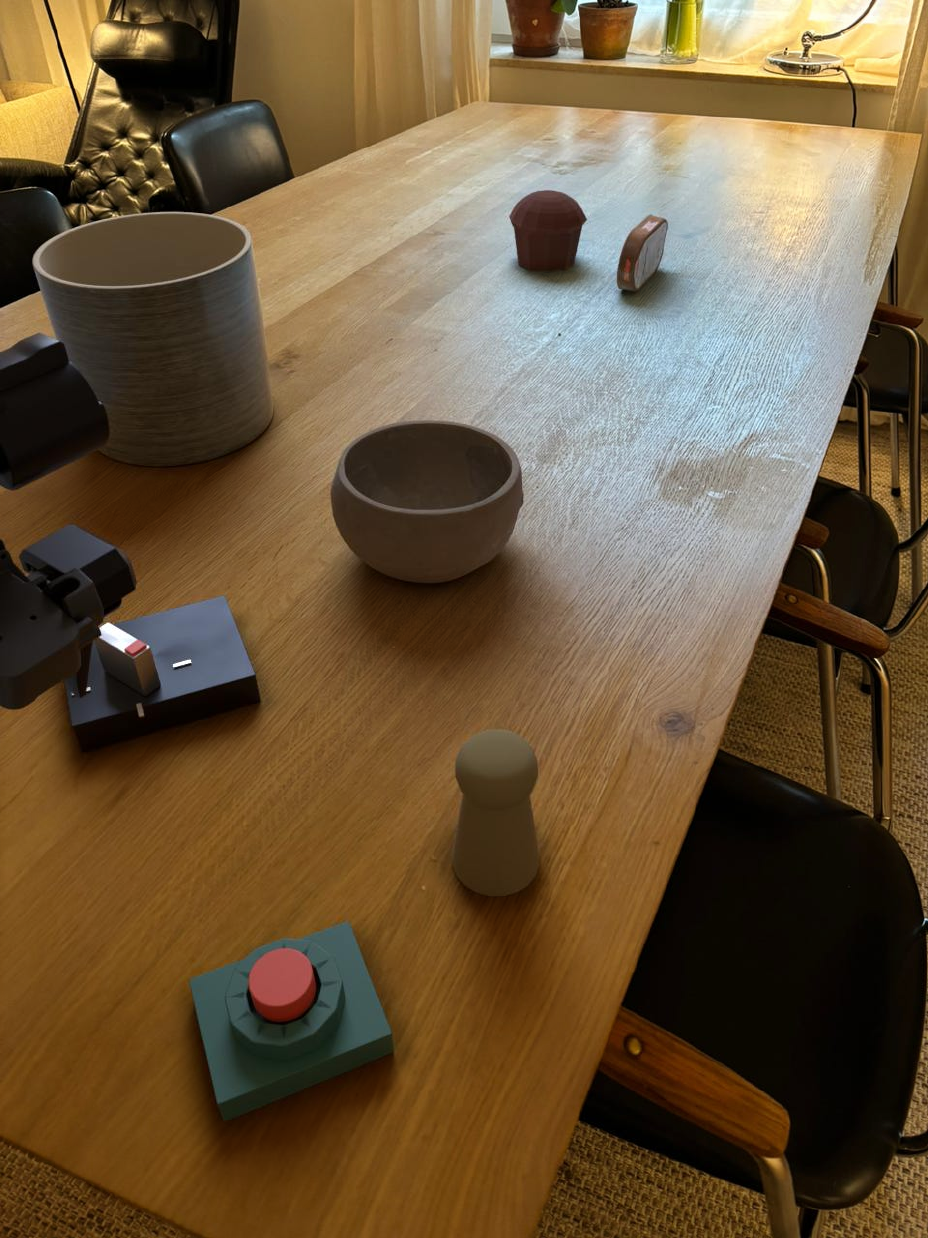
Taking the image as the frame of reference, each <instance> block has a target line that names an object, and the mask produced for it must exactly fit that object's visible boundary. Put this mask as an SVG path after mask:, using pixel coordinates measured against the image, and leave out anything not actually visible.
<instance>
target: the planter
mask: <svg viewBox="0 0 928 1238" xmlns="http://www.w3.org/2000/svg"><path fill="white" fill-rule="evenodd" d="M255 257H256V256H255V251H254V242H253V237H252V235H251V233H250V231H249V229H248V228H246V227H245V226H243V225H242V224H240V223H239V222H236V221H234V220H232V219H229V218H226V217H222V216H218V215H213V214H207V213H199V212H187V211H186V212H184V211H160V212H159V211H157V212H155V211H154V212H142V213H133V214H127V215H126V214H125V215H120V216H114V217H109V218H105V219H100V220H96V221H92V222H89V223H84V224H82V225H79V226H76V227H73V228H71V229H68V230H65V231H63V232H61V233H59V234H57V235H55V236H53V237H52V238H50V239H48V240H47V241H45V242H44V243H43V244H41V245H40V246H39V247H38V249H37V250H35V252H34V254H33V257H32V268H33V270H34V273H35V277H36V280H37V284H38V286H39V289H40V290H39V291H40V293H41V296H42V299H43V303H44V306H45V309H46V312H47V315H48V320H49V322H50V325H51V328H52V332H53V335H54V339H56V340H58V341H60V342H62V343H64V345H65V348H66V352H67V355H68V358H69V361H70V362H71V363H72V364H73V365H74V366H75V367H76V368H77V369H78V370H79V371H80V372H81V374H82V375H83V376H84V378H85V379H86V380H87V382H88V383H89V385H90V387H91V388H92V390H93V392H94V393H95V395H96V397H97V399H98V401H99V402H101V403H102V404H103V405H104V407H105V410H106V413H107V416H108V421H109V426H110V437H109V440H108V443H107V444H106V445H105V446H104V447H103V448H101V449H99V450H97V451H98V452H99V453H101V454H102V455H104V456H106V457H107V458H109V459H112V460H115V461H118V462H121V463H124V464H129V465H135V466H141V467H142V466H143V467H176V466H185V465H191V464H192V465H193V464H197V463H202V462H205V461H206V462H207V461H210V460H215V459H217V458H220V457H223V456H225V455H228V454H231V453H234V452H235V451H237V450H240V449H242V448H243V447H245V446H247V445H248V444H250V443H251V442H253V441H255V440H256V439H257V438H258V437H260V435H262V433H264V431H265V430H266V429H267V428H268V426H269V425H270V423H271V421H272V420H273V419H272V418H273V416H274V399H273V392H272V386H271V376H270V368H269V360H268V359H269V358H268V350H267V341H266V333H265V325H264V317H263V308H262V302H261V301H262V300H261V293H260V287H259V286H260V285H259V279H258V271H257V264H256V258H255Z"/></svg>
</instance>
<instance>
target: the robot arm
mask: <svg viewBox="0 0 928 1238" xmlns="http://www.w3.org/2000/svg"><path fill="white" fill-rule="evenodd" d="M109 437H110V426H109V421H108V416H107V413H106V410H105V407H104V405H103V404H102V403H101V402H99V401H98V399H97V397H96V395H95V393H94V392H93V390H92V388H91V387H90V385H89V383H88V382H87V380H86V379H85V378H84V376H83V375H82V374H81V372H80V371H79V370H78V369H77V368H76V367H75V366H74V365H73V364H72V363H71V362H70V361H69V358H68V355H67V352H66V348H65V345H64V343H62V342H60V341H58V340H56V338H54V337H51V336H49V335H47V334H45V333H42V332H37V333H35V334H32V335H30V336H28V337H25V338H23V339H21V340H19V341H17V342H16V343H15V344H13V345H12V346H11V347H9V348H7V349H4V350H2V351H0V487H2V488H3V489H6V490H9V491H13V492H14V491H17V490H20V489H22V488H23V487H26V486H27V485H30V484H32V483H34V482H36V481H37V480H41V479H42V478H44V477H46V476H48V475H50V474H52V473H54V472H56V471H58V470H60V469H62V468H64V467H66V466H69V465H70V464H73V463H74V462H76V461H78V460H80V459H82V458H84V457H86V456H88V455H91V454H92V453H95V452H97V451H98V450H99V449H101V448H103V447H104V446H105V445H106V444H107V443H108V440H109ZM5 545H6V544H5V543H4V540H2V539H1V538H0V707H1V708H3V709H6V710H9V711H10V710H11V711H15V710H21V709H24V708H25V707H28V706H30V705H31V704H33V703H34V702H35V701H36V700H37V698H38V697H40V696H41V695H43V694H44V693H46V692H47V691H49V690H51V689H52V688H53V687H55V686H56V685H58V684H60V683H61V682H63V681H65V682H66V684H67V686H68V688H69V690H70V691H71V693H72V694H74V695H75V696H77V697H78V698H82V697H84V696H85V695H86V689H87V681H88V673H89V665H90V658H91V650H92V644H93V641H94V640H95V639H97V638H98V637H100V636H101V634H102V633H101V631H100V629H99V628H100V627H99V626H100V625H102V624H103V623H104V620H105V619H106V618H107V617H109V616H110V615H111V614H112V613H114V612H116V611H118V609H120V607H121V606H122V604H123V598H125V597H127V596H128V595H129V594H131V593H133V592H135V591H136V590H137V584H138V581H137V577H136V573H135V570H134V567H133V562H132V561H131V559H130V558H129V557H128V555H127V554H126V552H125V551H124V550H123V549H122V548H120V547H118V546H117V545H115V544H112V543H111V542H109V541H107V540H105V539H103V537H102V538H101V537H100V536H98V535H97V534H95V533H93V532H91V531H88V530H87V529H85V528H83V527H81V526H78V525H76V524H73V523H68V524H67V525H65V526H63V527H61V528H59V529H58V530H56V531H53V532H52V533H51V534H49V535H47V536H45V537H43V538H41V539H39V540H38V541H35V542H33V543H32V544H30V545H28V546H27V547H25V548H23V549H22V550H21V552H20V553H19V555H18V559H19V561H20V564H21V567H22V570H23V571H24V572H26V573H24V572H23V571H22V570H21V569H20V568H19V567H18V566H17V564H16V563H15V562H14V560H13V558H12V555H11V553H10V551H9V550H7V548H6V546H5Z"/></svg>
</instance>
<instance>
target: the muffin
mask: <svg viewBox="0 0 928 1238" xmlns="http://www.w3.org/2000/svg"><path fill="white" fill-rule="evenodd" d="M508 217H509V220H510V223H511V225H512V227H513V231H514V239H515V247H516V255H517V263H518V266H519V267H522V268H525V269H526V270H528V271H531V272H542V273H551V272H559V271H566V270H567V269H568V268H570V267H571V266H574V265H575V263H576V257H577V254H578V249H579V243H580V239H581V233H582V229H583V225H584V224H585V223H586V222H587V220H588V218H587V217H586V214H585V213H584V211H583V209H582V207H581V205H580V204H579V203H578V201H577V200H576V199H574V198H573V197H572V196H570V195H568V194H566V193H565V192H562V191H557V190H552V189H551V190H550V189H545V190H537V191H534V192H533V191H532V192H531V193H529V194H526V195H525V196H524V197H522V198H521V199H520V200H518V202H517V203H516V204H515V206H514V207H513V208H512V210H511V213H509V215H508Z"/></svg>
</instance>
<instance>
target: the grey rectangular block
mask: <svg viewBox="0 0 928 1238" xmlns="http://www.w3.org/2000/svg"><path fill="white" fill-rule="evenodd" d="M112 624H113V623H110V622H106V623H104V624H103V625H101V626H100V627H99V629H100V631H101V633H102V634H101V636H100V637H98V638H97V639H95V640H94V642H95V645H96V648H97V651H98V654H99V657H100V660H101V663H102V666H103V669H104V671H105V672H107V673H108V674H110V675H112V676H113V677H115V678H116V679H118V680H120V681H121V682H123V683H124V684H126V685H128V686H129V687H131V688H132V689H134V690H136V691H137V692H139V693H140V694H142V695H144V696H147V695H148V694H149V693H151V692H152V691H154V690H155V689H156V688H158V687H159V686H161V683H160V679H159V676H158V672H157V669H156V666H155V662H154V659H153V655H152V652H151V648H150V647H149V646H148V645H146V644H144V643H143V642H141V641H139V640H137V639H136V638H134V637H132V636H130V635H129V634H127V633H125V632H124V631H122V630H120V629H119V628H117V627H115V626H113V625H112Z"/></svg>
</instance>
